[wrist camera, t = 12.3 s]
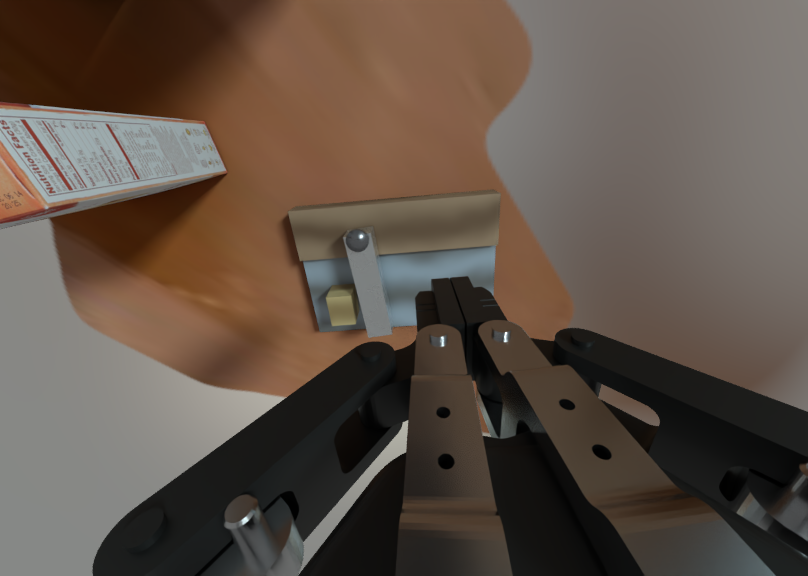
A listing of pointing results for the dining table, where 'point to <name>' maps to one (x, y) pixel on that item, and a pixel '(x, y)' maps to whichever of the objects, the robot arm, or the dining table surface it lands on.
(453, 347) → the robot arm
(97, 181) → the cracker box
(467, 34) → the dining table surface
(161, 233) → the dining table surface
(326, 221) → the latched flap box
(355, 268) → the lock bar
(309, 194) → the dining table surface
